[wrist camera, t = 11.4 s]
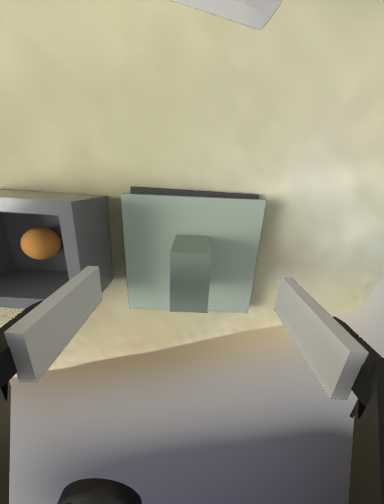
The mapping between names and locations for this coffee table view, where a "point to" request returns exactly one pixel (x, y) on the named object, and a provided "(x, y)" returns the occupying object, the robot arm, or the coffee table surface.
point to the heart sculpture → (238, 10)
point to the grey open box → (71, 236)
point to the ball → (40, 243)
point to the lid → (190, 251)
